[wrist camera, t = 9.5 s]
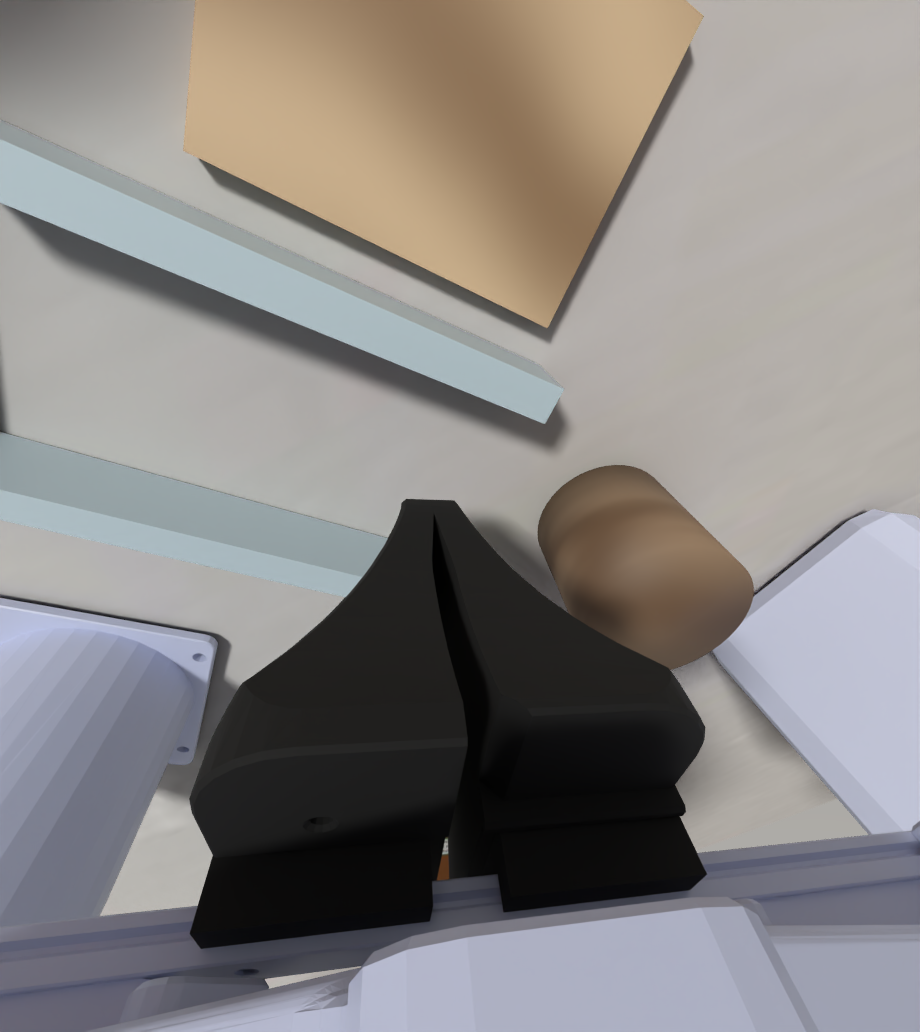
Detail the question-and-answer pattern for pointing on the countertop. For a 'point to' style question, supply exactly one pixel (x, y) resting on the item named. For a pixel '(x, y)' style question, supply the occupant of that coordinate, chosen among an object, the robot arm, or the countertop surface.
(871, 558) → the soap bottle
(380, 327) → the channel
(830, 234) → the countertop surface
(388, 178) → the mat
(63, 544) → the countertop surface
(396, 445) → the countertop surface
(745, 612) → the brown cylinder
